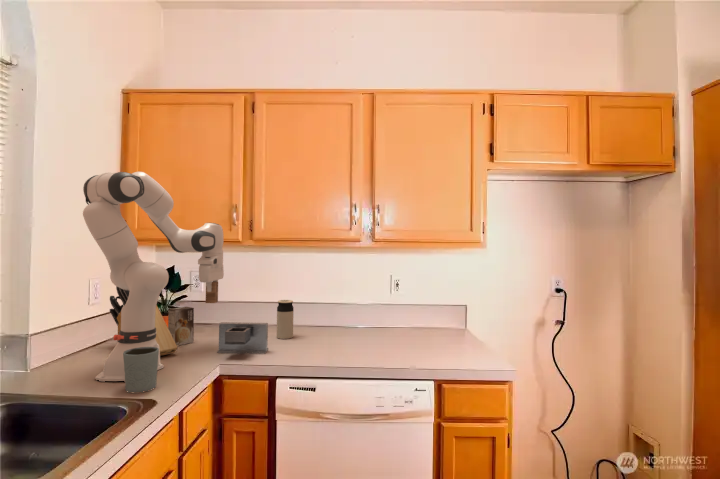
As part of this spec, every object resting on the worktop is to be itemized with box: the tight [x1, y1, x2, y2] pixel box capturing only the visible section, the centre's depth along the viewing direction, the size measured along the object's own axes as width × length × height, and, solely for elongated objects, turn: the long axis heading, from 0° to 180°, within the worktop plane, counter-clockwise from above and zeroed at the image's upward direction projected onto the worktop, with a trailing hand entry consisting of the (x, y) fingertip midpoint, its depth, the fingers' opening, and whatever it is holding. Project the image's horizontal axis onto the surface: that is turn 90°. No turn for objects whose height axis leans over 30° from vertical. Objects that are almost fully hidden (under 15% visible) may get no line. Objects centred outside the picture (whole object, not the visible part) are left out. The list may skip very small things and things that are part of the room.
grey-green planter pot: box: [123, 347, 159, 393], centre depth 128 cm, size 10×10×12 cm
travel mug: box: [276, 299, 294, 340], centre depth 198 cm, size 8×8×18 cm
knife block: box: [109, 285, 178, 357], centre depth 170 cm, size 11×35×31 cm, turn 58°
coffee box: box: [167, 306, 195, 347], centre depth 184 cm, size 9×6×16 cm
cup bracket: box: [216, 321, 269, 355], centre depth 168 cm, size 15×20×12 cm
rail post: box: [205, 281, 219, 304], centre depth 178 cm, size 4×4×9 cm
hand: (211, 290), depth 178 cm, fingers closed on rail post, 4 cm apart
